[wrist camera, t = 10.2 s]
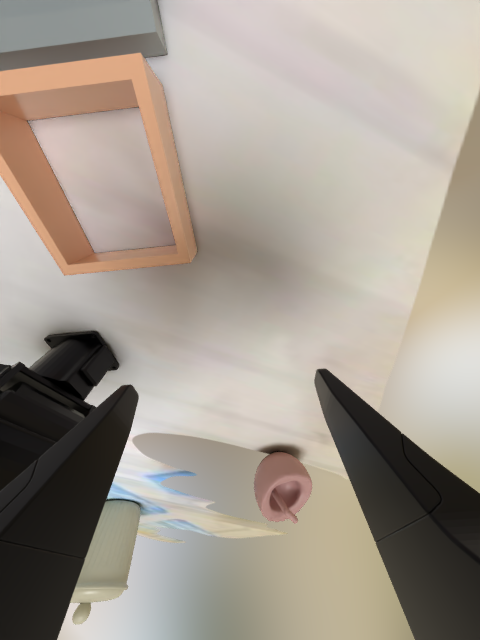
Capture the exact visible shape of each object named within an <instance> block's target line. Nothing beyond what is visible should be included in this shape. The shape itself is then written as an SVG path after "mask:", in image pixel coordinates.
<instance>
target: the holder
mask: <svg viewBox="0 0 480 640" xmlns="http://www.w3.org/2000/svg"><path fill="white" fill-rule="evenodd" d="M133 107H139V109H140V112H141V116H142V120H143V124H144V127H145V131H146V135H147V139H148V142H149V146H150V150H151V154H152V157H153V161H154V165H155V169H156V172H157V176H158V180H159V184H160V187H161V191H162V195H163V199H164V202H165V206H166V210H167V214H168V217H169V221H170V225H171V228H172V232H173V236H174V240H175V243H176V245H172V246H162V247H152V248H142V249H133V250H123V251H113V252H103V253H94V252H93V250H92V248H91V246H90V244H89V242H88V240H87V238H86V236H85V234H84V232H83V230H82V228H81V226H80V224H79V222H78V220H77V218H76V216H75V214H74V212H73V210H72V208H71V206H70V204H69V202H68V200H67V199H66V197H65V195H64V193H63V191H62V189H61V187H60V185H59V183H58V181H57V179H56V177H55V175H54V173H53V171H52V169H51V167H50V165H49V163H48V161H47V159H46V157H45V155H44V153H43V151H42V149H41V147H40V146H39V144H38V142H37V140H36V138H35V136H34V134H33V132H32V130H31V128H30V126H29V124H28V122H27V121H28V120H36V119H44V118H52V117H60V116H68V115H76V114H84V113H92V112H101V111H109V110H117V109H125V108H133ZM0 175H1V177H2V178H3V180H4V182H5V183H6V185H7V186H8V188H9V189H10V191H11V193H12V194H13V196H14V197H15V199H16V200H17V202H18V204H19V205H20V207H21V208H22V210H23V211H24V213H25V215H26V216H27V218H28V219H29V221H30V222H31V224H32V226H33V227H34V229H35V230H36V232H37V233H38V235H39V237H40V238H41V240H42V241H43V243H44V244H45V246H46V248H47V249H48V251H49V252H50V254H51V255H52V257H53V259H54V260H55V262H56V263H57V265H58V266H59V268H60V270H61V271H62V273H63V274H64V275H74V274H84V273H94V272H104V271H114V270H124V269H134V268H144V267H154V266H164V265H174V264H184V263H191V261H192V260H193V258H194V257H195V255H196V253H197V247H196V242H195V238H194V233H193V228H192V223H191V219H190V214H189V209H188V204H187V200H186V195H185V190H184V185H183V181H182V176H181V171H180V166H179V161H178V157H177V152H176V147H175V142H174V138H173V133H172V128H171V123H170V119H169V114H168V109H167V104H166V100H165V95H164V90H163V85H162V84H161V82H160V81H159V79H158V78H157V76H156V75H155V73H154V72H153V70H152V69H151V67H150V66H149V64H148V63H147V61H146V60H145V58H144V57H143V55H142V54H141V53H134V54H126V55H119V56H111V57H104V58H96V59H89V60H81V61H73V62H66V63H58V64H51V65H43V66H35V67H28V68H20V69H13V70H5V71H0Z"/></svg>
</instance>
